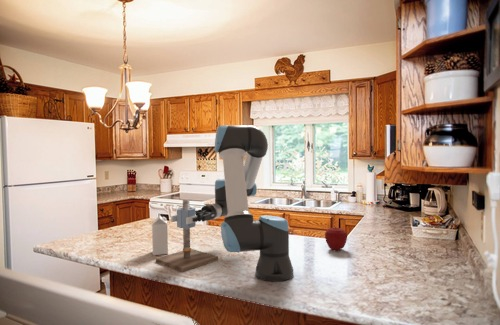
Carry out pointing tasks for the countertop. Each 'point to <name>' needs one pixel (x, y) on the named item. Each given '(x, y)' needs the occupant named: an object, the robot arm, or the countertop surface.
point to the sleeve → (183, 215)
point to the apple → (336, 238)
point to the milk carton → (160, 236)
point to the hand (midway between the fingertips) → (179, 220)
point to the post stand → (186, 253)
